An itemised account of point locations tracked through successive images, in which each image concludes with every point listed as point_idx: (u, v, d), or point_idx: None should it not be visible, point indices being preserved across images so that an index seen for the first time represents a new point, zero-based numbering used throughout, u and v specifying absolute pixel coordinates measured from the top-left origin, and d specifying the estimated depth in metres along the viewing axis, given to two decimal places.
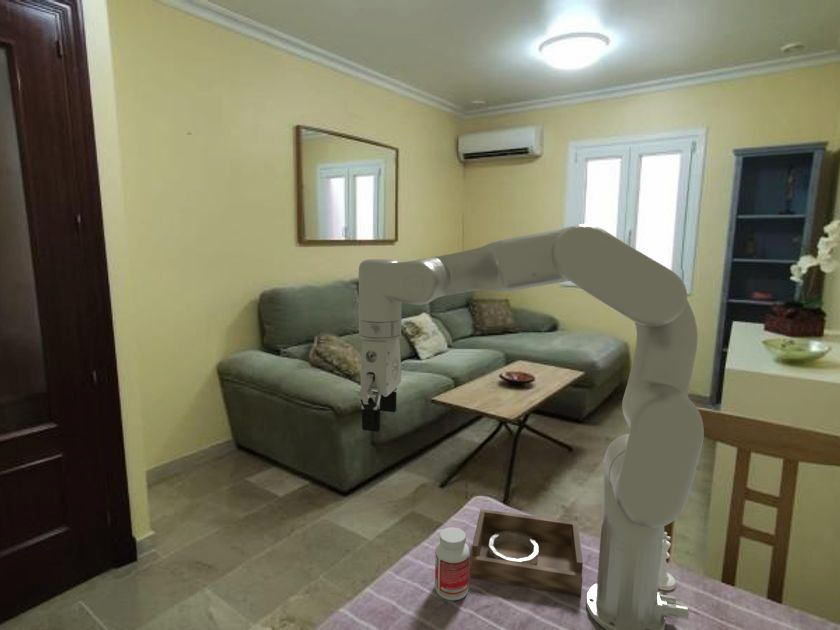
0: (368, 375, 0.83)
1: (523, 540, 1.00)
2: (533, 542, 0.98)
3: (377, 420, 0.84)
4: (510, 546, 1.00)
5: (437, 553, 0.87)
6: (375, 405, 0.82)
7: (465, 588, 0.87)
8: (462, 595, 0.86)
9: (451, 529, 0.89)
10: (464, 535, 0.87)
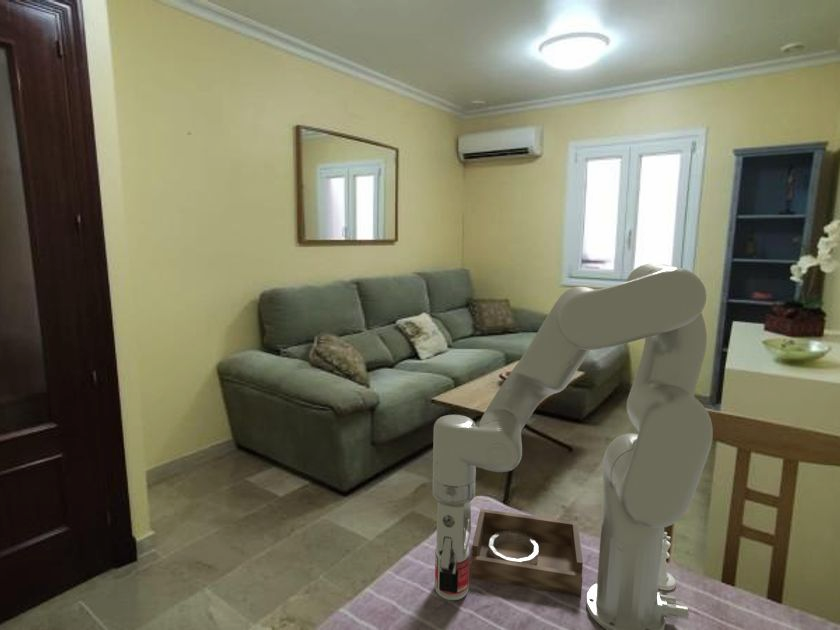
0: (445, 542, 0.82)
1: (523, 540, 1.00)
2: (533, 542, 0.98)
3: (455, 582, 0.84)
4: (510, 546, 1.00)
5: None
6: (454, 571, 0.83)
7: (465, 588, 0.87)
8: (462, 595, 0.86)
9: None
10: None
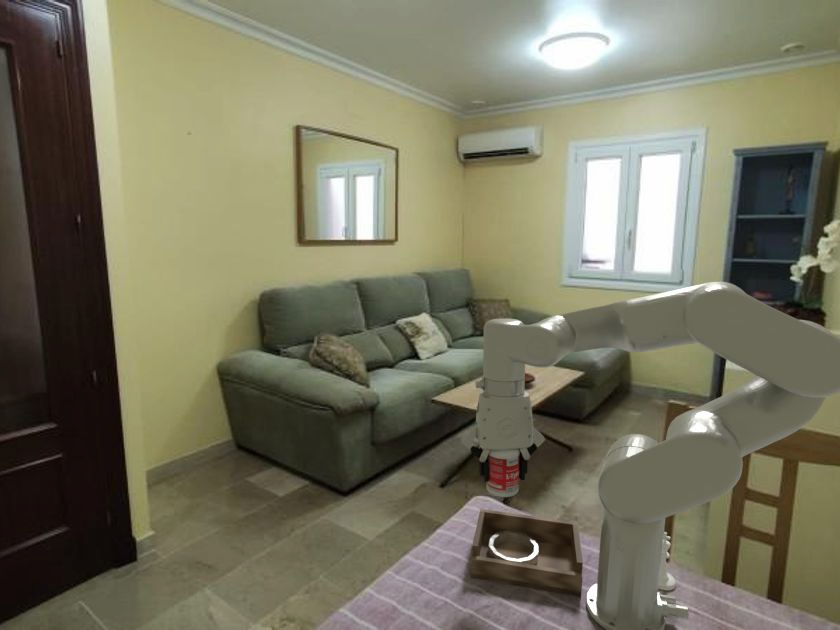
0: (475, 426, 0.90)
1: (523, 540, 1.00)
2: (533, 542, 0.98)
3: (484, 471, 0.90)
4: (510, 546, 1.00)
5: None
6: (479, 457, 0.90)
7: (498, 488, 0.89)
8: (494, 492, 0.90)
9: None
10: None
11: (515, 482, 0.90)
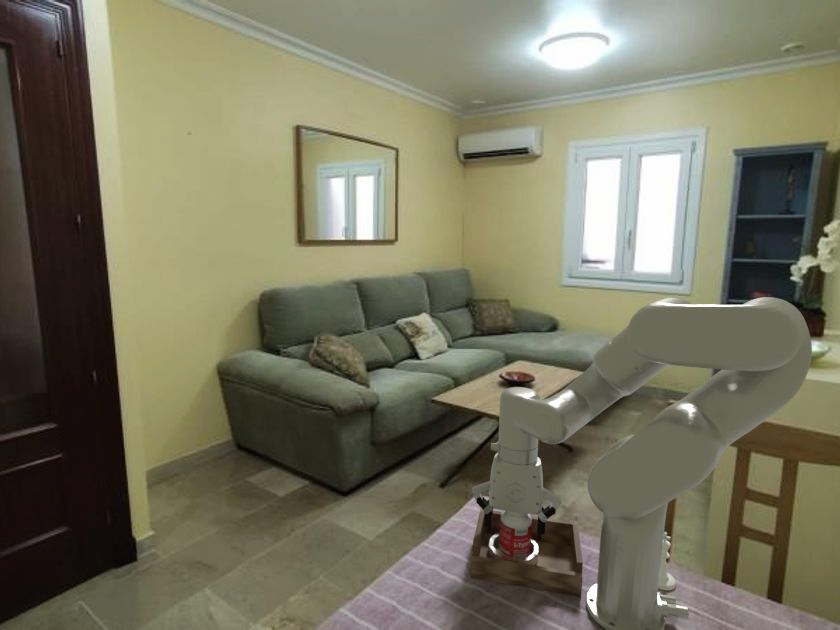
0: (488, 481, 0.97)
1: None
2: (533, 542, 0.98)
3: (487, 522, 0.96)
4: None
5: None
6: (484, 508, 0.96)
7: (506, 553, 0.95)
8: None
9: None
10: None
11: (524, 551, 0.94)
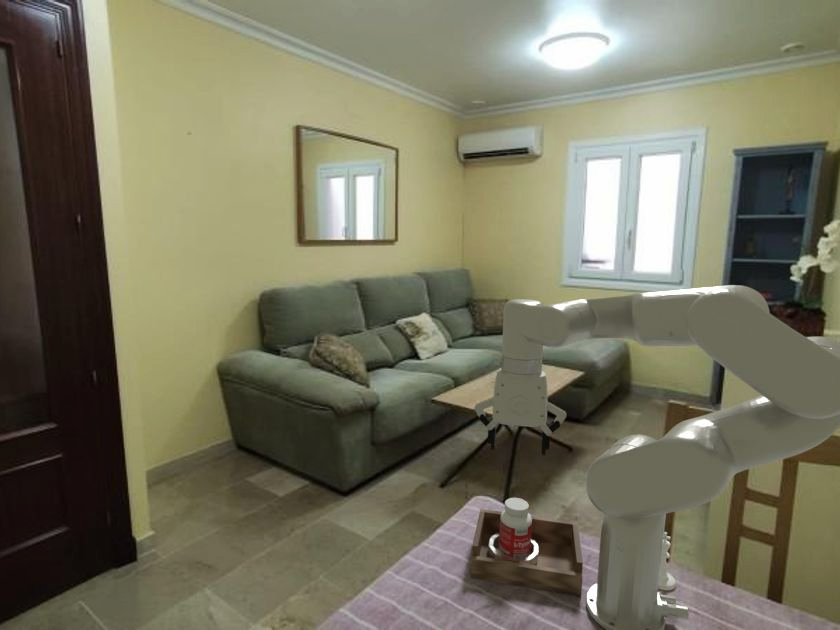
0: (492, 397, 0.95)
1: None
2: (533, 542, 0.98)
3: (491, 439, 0.94)
4: None
5: None
6: (487, 424, 0.94)
7: (506, 553, 0.95)
8: None
9: (524, 503, 0.96)
10: (517, 509, 0.94)
11: (524, 551, 0.94)
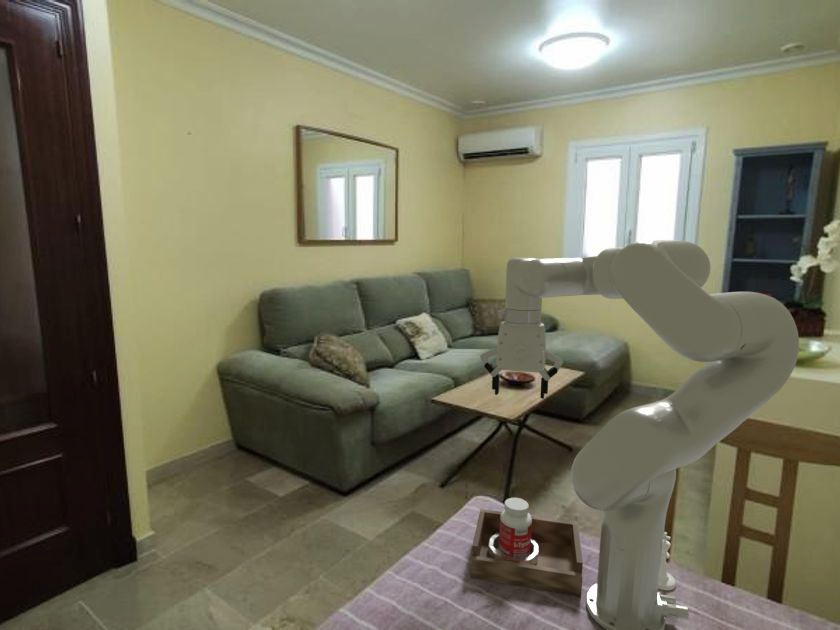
0: (496, 347, 1.05)
1: None
2: (533, 542, 0.98)
3: (495, 385, 1.05)
4: None
5: None
6: (491, 371, 1.04)
7: (506, 553, 0.95)
8: None
9: (523, 503, 0.96)
10: (517, 509, 0.94)
11: (524, 551, 0.94)
